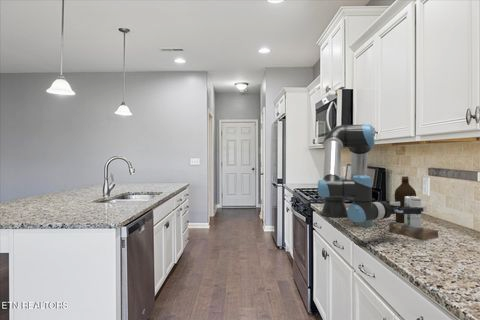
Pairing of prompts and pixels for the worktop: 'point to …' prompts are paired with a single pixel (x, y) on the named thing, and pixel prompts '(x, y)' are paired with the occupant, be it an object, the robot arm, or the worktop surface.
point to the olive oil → (403, 196)
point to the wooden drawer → (412, 231)
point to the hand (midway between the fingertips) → (412, 206)
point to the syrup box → (412, 218)
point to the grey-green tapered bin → (364, 224)
